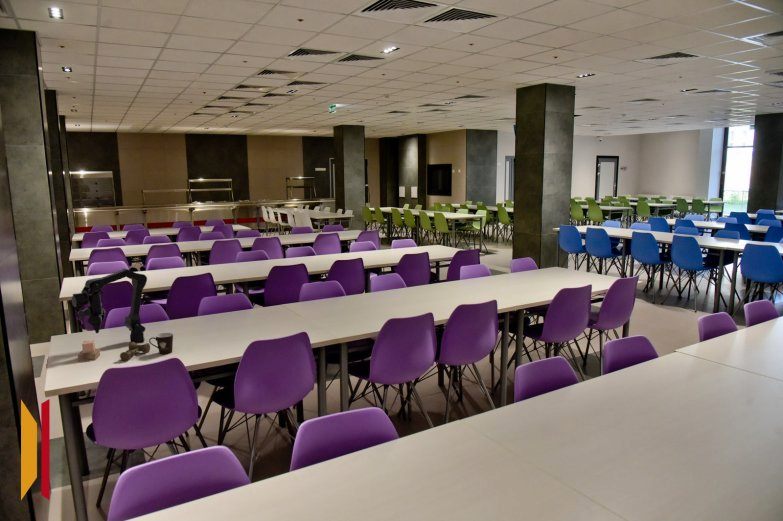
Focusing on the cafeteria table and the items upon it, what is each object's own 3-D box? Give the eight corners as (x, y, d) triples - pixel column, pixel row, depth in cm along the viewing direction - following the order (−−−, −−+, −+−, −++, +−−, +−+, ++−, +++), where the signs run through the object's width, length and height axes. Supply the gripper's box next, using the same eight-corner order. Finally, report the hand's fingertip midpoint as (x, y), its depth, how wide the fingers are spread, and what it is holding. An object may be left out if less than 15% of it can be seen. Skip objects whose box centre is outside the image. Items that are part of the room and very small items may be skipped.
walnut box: (100, 355, 280) (99, 348, 279) (95, 360, 272) (94, 353, 272) (83, 357, 278) (82, 349, 277) (78, 362, 270) (77, 354, 270)
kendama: (115, 362, 271) (138, 348, 290) (133, 363, 270) (155, 349, 289) (114, 351, 270) (137, 338, 289) (132, 352, 269) (154, 339, 288)
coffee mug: (178, 351, 286) (176, 333, 284) (166, 356, 277) (165, 337, 276) (160, 348, 289) (159, 331, 288) (148, 353, 281) (147, 335, 280)
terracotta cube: (95, 349, 278) (94, 340, 277) (93, 352, 273) (93, 342, 273) (84, 350, 276) (83, 341, 275) (82, 353, 271) (82, 344, 271)
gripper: (80, 300, 287) (84, 327, 290) (74, 308, 270) (78, 337, 273) (103, 298, 291) (107, 325, 294) (98, 306, 274) (102, 334, 277)
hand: (98, 330), depth 284 cm, fingers open, 9 cm apart
